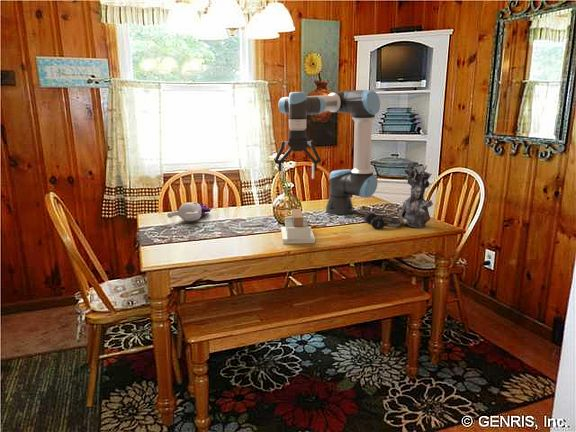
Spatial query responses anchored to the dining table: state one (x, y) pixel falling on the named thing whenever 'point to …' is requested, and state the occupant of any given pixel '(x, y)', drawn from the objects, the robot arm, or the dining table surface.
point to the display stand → (297, 232)
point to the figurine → (190, 211)
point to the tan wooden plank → (297, 218)
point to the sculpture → (416, 199)
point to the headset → (381, 221)
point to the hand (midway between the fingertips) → (297, 178)
